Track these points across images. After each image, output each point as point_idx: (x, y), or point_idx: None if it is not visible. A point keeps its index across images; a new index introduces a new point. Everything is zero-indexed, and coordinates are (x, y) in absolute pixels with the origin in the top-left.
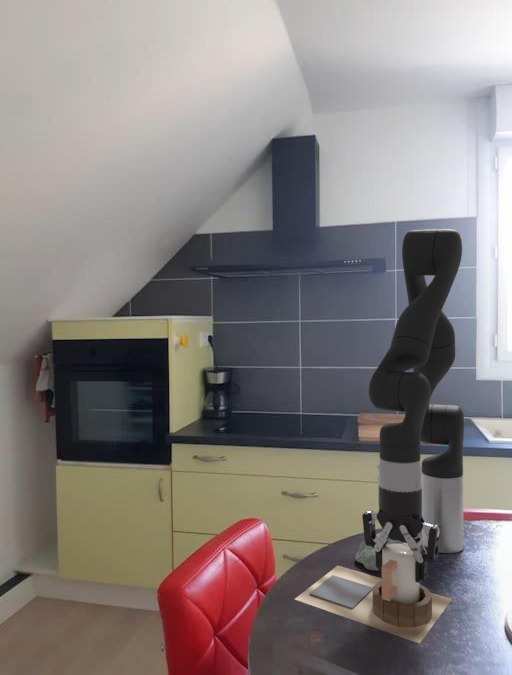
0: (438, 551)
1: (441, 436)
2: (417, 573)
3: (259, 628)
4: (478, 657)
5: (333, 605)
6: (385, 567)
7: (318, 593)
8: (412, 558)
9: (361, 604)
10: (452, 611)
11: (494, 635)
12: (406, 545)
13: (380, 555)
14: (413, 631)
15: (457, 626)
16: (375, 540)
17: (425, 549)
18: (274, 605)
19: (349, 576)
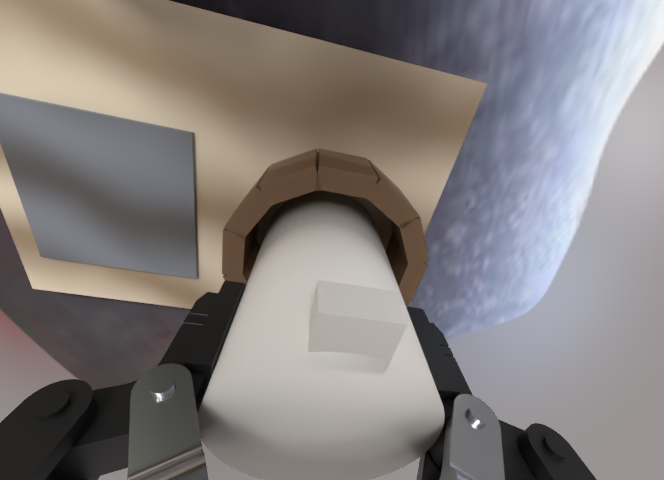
0: (592, 475)
1: None
2: None
3: (69, 366)
4: (492, 300)
5: (143, 277)
6: None
7: (63, 248)
8: (402, 466)
9: (207, 245)
10: (469, 128)
11: (558, 212)
12: (346, 362)
13: None
14: None
15: (470, 208)
16: (108, 461)
17: (502, 457)
18: (8, 293)
19: (44, 53)
